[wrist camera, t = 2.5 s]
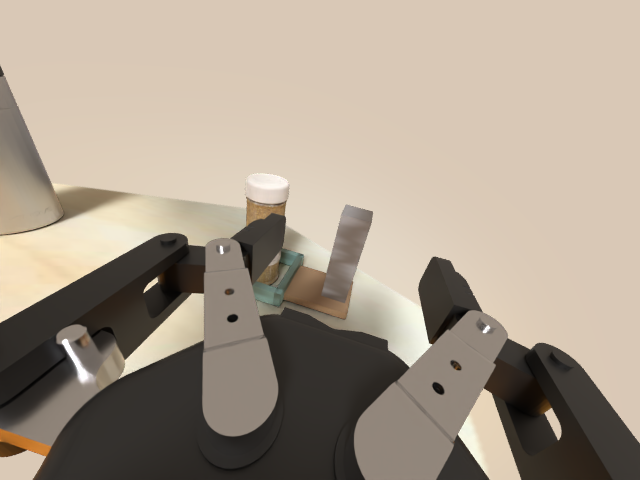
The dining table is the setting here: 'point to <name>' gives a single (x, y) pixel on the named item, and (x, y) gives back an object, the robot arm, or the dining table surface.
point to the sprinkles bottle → (266, 209)
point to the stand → (321, 287)
